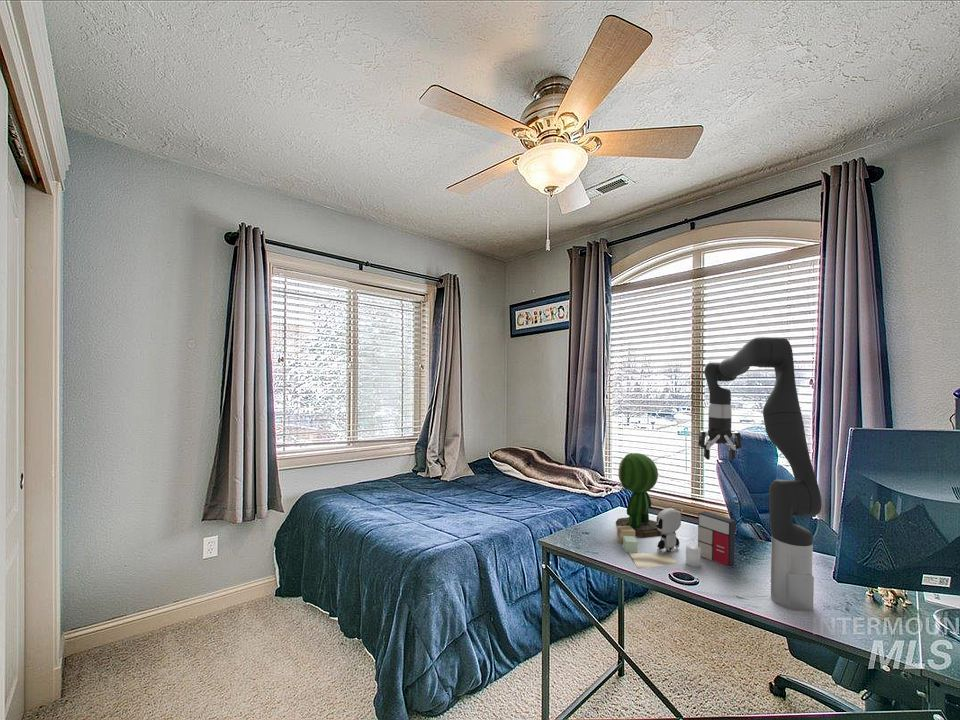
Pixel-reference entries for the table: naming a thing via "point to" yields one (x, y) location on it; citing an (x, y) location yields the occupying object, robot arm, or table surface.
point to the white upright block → (693, 555)
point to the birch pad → (651, 560)
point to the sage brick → (630, 544)
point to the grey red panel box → (716, 537)
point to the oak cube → (624, 532)
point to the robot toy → (668, 528)
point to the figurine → (638, 493)
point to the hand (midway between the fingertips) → (719, 459)
